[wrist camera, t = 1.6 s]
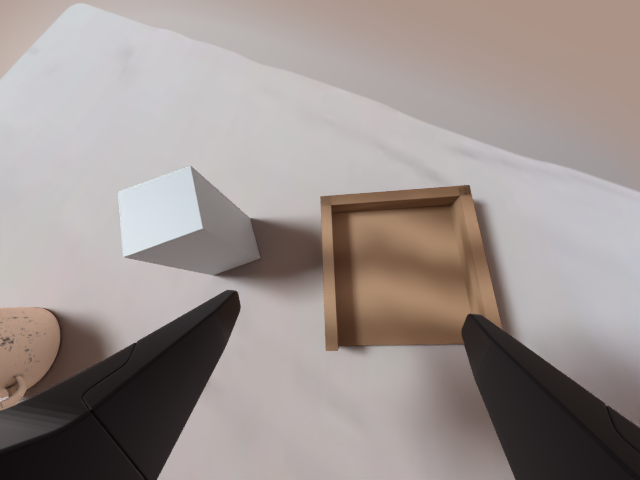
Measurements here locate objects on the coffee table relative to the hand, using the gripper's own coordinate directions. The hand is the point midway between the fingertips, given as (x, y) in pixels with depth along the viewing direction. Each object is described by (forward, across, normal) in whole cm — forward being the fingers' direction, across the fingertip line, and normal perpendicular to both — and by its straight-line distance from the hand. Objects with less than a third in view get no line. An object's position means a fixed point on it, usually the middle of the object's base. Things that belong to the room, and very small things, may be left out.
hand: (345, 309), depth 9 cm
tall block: (+14, +13, +6) cm, 20 cm away
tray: (+13, -5, +6) cm, 15 cm away
